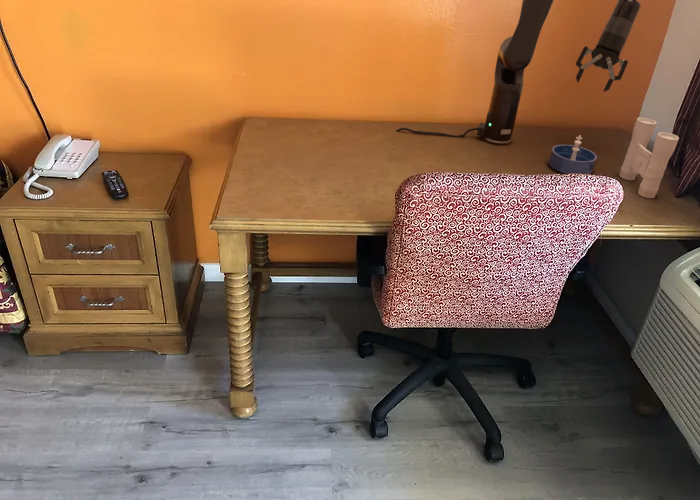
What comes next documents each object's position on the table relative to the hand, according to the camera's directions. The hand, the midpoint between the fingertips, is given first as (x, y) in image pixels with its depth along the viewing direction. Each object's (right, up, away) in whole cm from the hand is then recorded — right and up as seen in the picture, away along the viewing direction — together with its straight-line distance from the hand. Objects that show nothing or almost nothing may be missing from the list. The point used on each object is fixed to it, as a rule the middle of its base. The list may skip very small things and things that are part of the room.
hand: (590, 86), depth 188 cm
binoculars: (+10, -32, -8) cm, 34 cm away
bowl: (-7, -25, -1) cm, 26 cm away
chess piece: (-7, -25, -1) cm, 26 cm away
